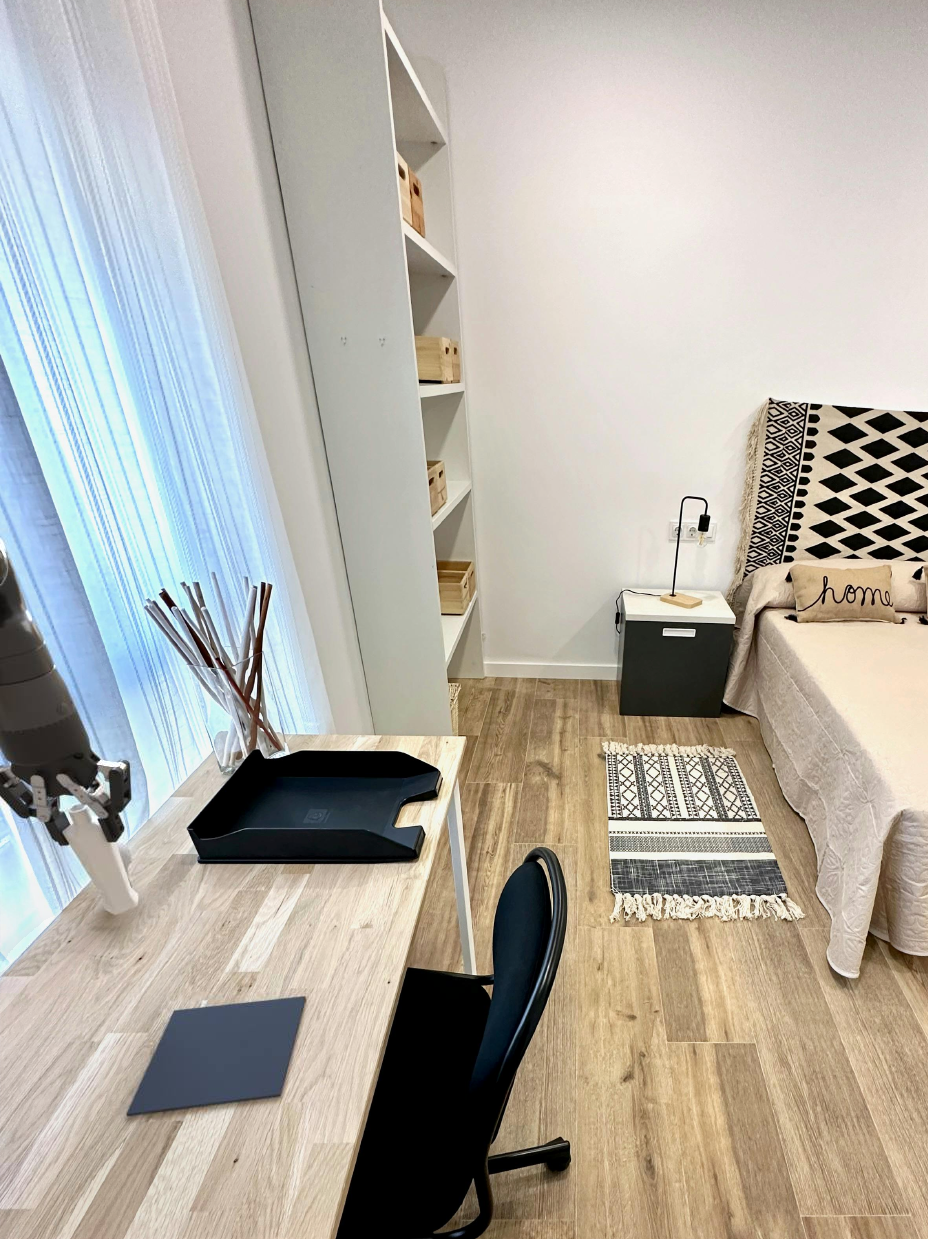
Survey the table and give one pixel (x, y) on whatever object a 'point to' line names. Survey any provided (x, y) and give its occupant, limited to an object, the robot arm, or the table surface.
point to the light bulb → (124, 856)
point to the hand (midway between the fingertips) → (91, 839)
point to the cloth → (220, 1056)
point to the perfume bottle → (100, 860)
